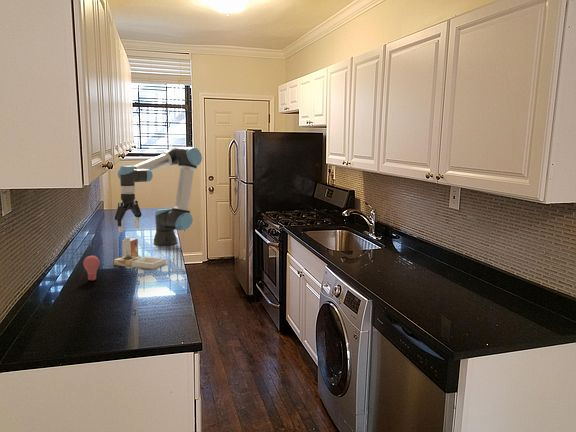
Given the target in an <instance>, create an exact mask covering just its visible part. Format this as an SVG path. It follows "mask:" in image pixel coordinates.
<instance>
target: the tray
mask: <svg viewBox="0 0 576 432" xmlns="http://www.w3.org/2000/svg"><path fill="white" fill-rule="evenodd" d="M165 265H167V259H166V258H165V257H163V258H161V257H153V256H144V257H141V258H140V259H138V260H135V261H132V266H131V268H136V269H137V268H138V269H145V270H152V271H153V270H154V269H157V268H160V267H162V266H165Z"/></svg>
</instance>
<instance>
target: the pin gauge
mask: <svg viewBox="0 0 576 432" xmlns="http://www.w3.org/2000/svg"><path fill="white" fill-rule="evenodd" d="M123 240H124V254H125V259H126V260H129V259H131V249H130V237H125V238H123Z"/></svg>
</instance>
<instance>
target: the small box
mask: <svg viewBox="0 0 576 432" xmlns="http://www.w3.org/2000/svg"><path fill="white" fill-rule="evenodd" d="M129 238H130V237H129ZM138 241H139V240H138V238H133V237H131V238H130V249H131V256H136V257H139V242H138ZM121 247H122V248H121V252H122V257H123V256H125V254H124V239H123V240H121Z"/></svg>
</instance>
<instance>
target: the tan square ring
mask: <svg viewBox="0 0 576 432" xmlns="http://www.w3.org/2000/svg"><path fill="white" fill-rule="evenodd" d="M140 258H142V257H141V256H137V257H136V256H131V259H129V260H126V259H125V256H123V255H122V256H121V257H118V258H115V259H114V260H113V264H114V266H119V267H128V268H129V267H131V268H132V261H135V260H138V259H140Z"/></svg>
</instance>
